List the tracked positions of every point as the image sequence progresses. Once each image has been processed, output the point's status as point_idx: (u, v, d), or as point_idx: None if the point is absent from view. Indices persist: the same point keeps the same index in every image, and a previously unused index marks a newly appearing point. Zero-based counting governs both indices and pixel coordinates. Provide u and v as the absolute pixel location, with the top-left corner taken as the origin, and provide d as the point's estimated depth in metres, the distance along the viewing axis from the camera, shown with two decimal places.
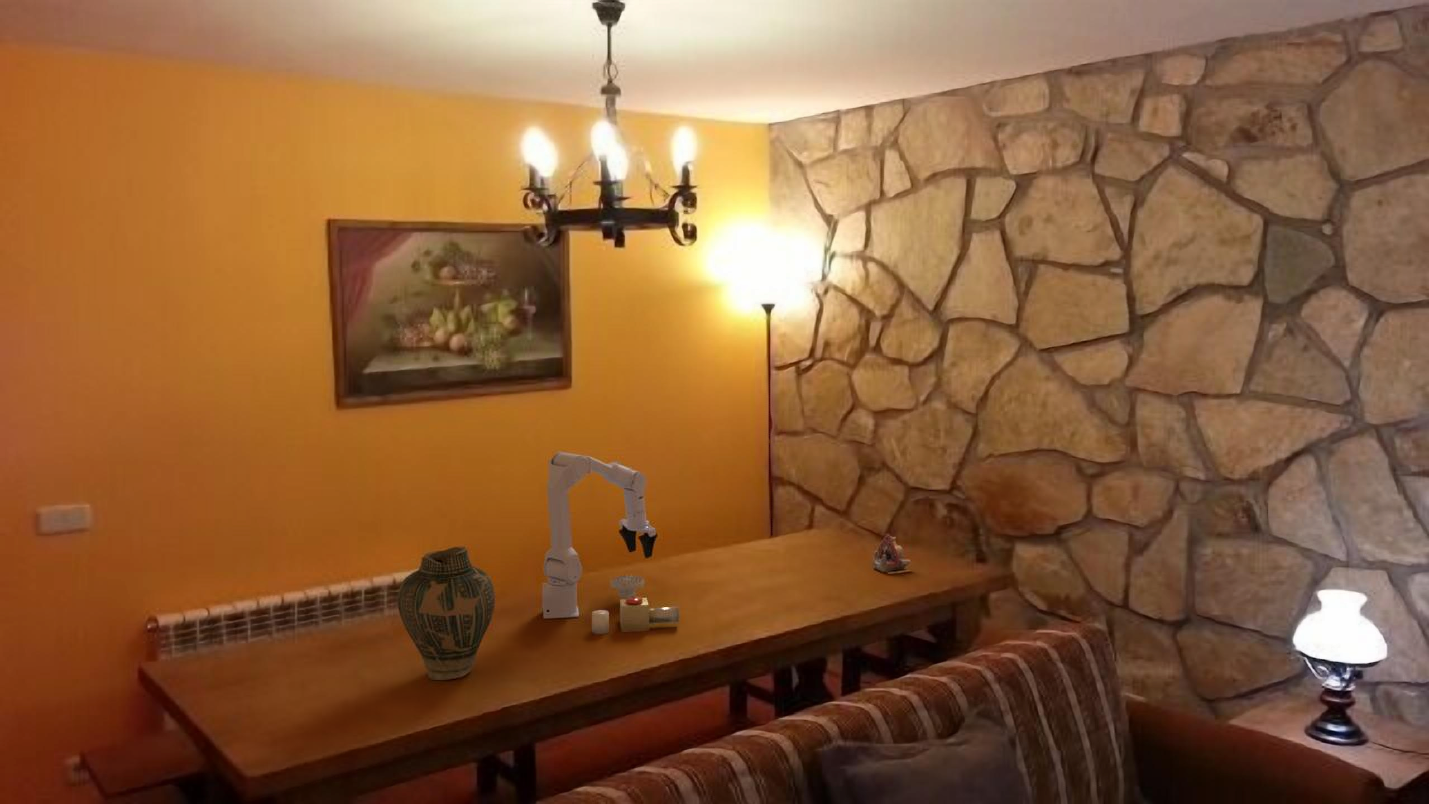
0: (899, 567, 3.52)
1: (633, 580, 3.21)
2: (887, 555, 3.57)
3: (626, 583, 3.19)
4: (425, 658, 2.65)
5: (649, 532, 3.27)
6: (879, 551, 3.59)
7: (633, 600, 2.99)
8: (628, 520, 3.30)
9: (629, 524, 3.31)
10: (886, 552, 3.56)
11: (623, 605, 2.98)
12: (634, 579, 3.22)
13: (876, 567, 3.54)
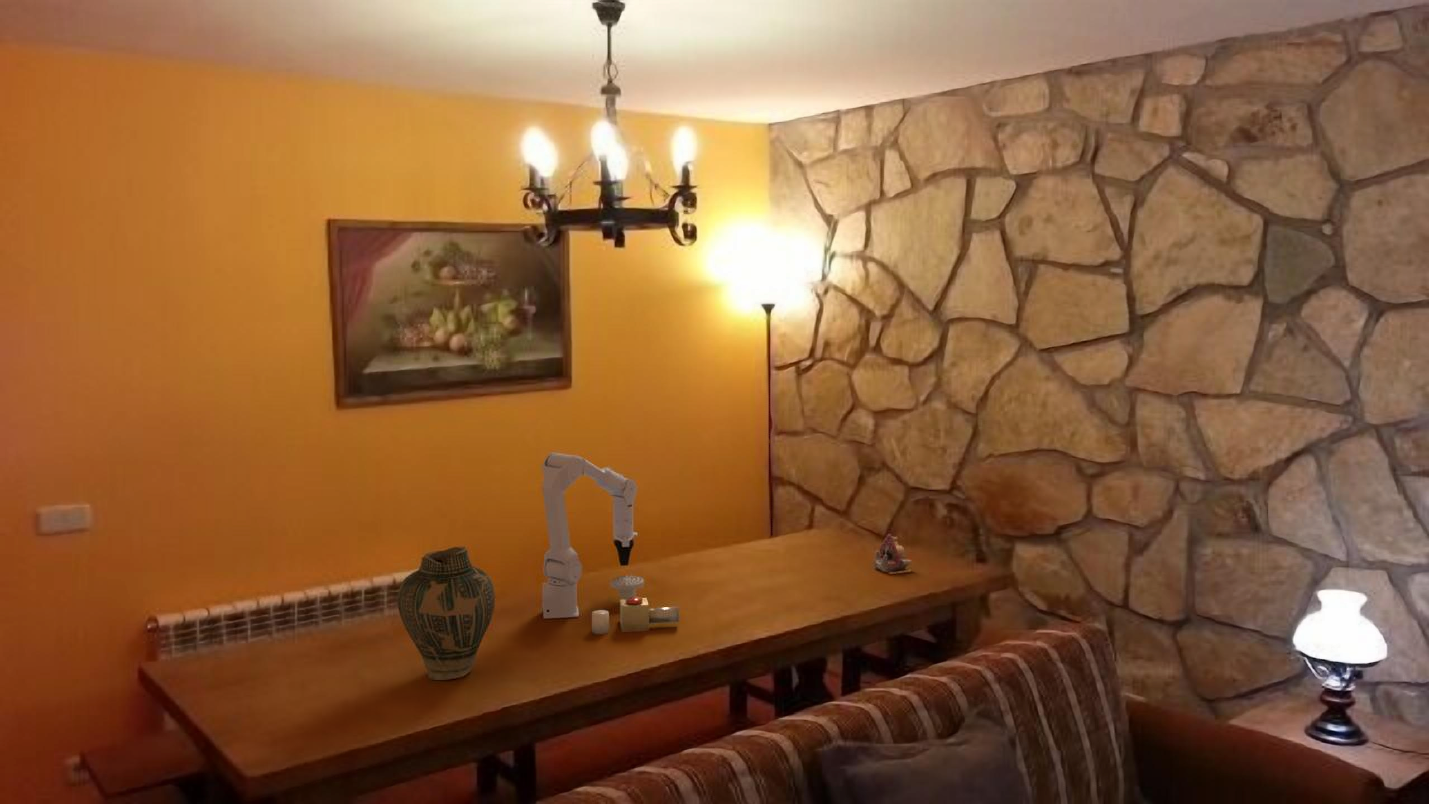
0: (900, 567, 3.52)
1: (633, 580, 3.21)
2: (888, 555, 3.57)
3: (626, 583, 3.19)
4: (425, 658, 2.65)
5: (622, 542, 3.23)
6: (881, 551, 3.59)
7: (633, 600, 2.99)
8: None
9: None
10: (887, 552, 3.56)
11: (623, 605, 2.98)
12: (634, 579, 3.22)
13: (877, 567, 3.54)
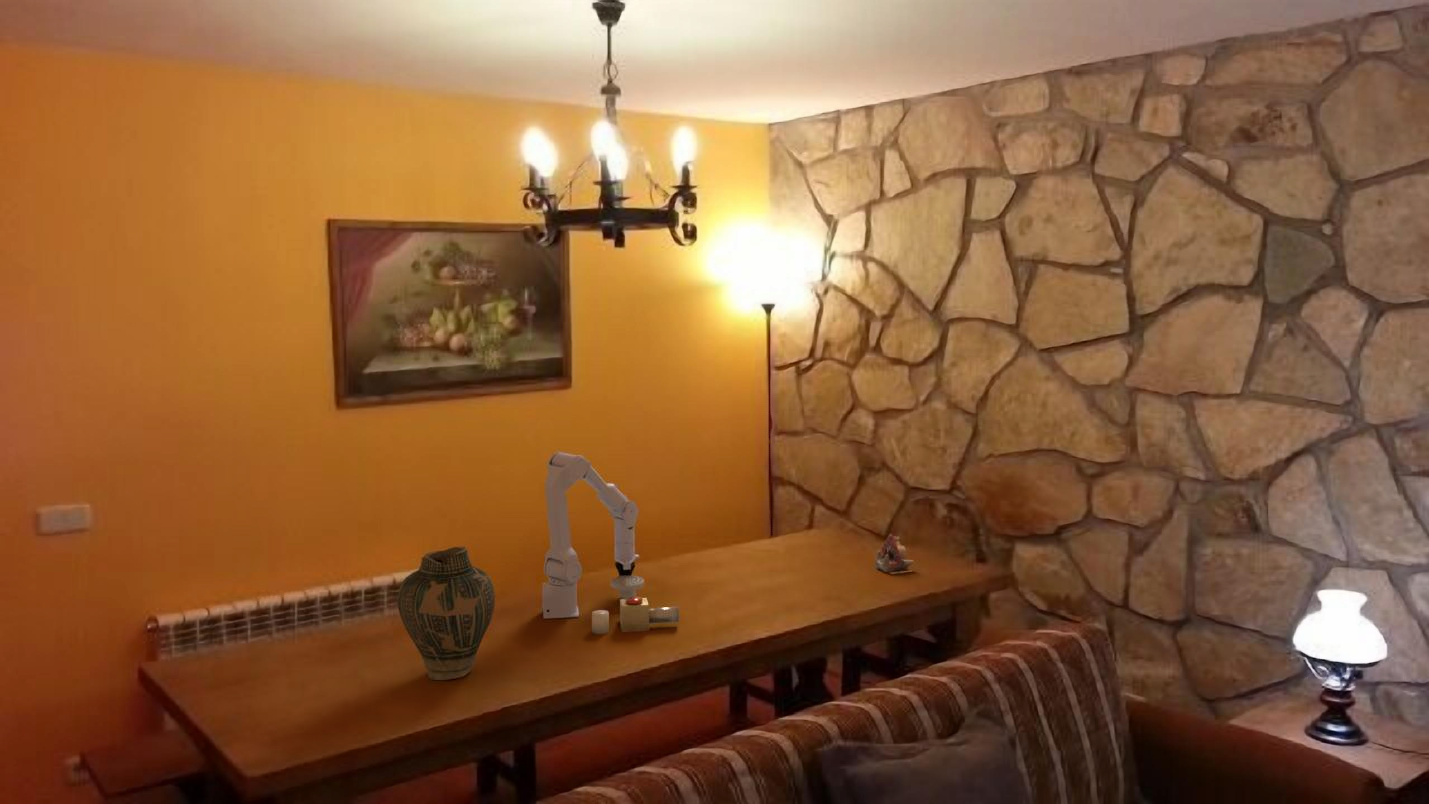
0: (902, 567, 3.52)
1: (633, 580, 3.21)
2: (890, 555, 3.56)
3: (626, 583, 3.19)
4: (425, 658, 2.65)
5: (623, 565, 3.21)
6: (882, 551, 3.59)
7: (633, 600, 2.99)
8: None
9: None
10: (889, 552, 3.56)
11: (623, 605, 2.98)
12: (634, 579, 3.22)
13: (879, 567, 3.54)
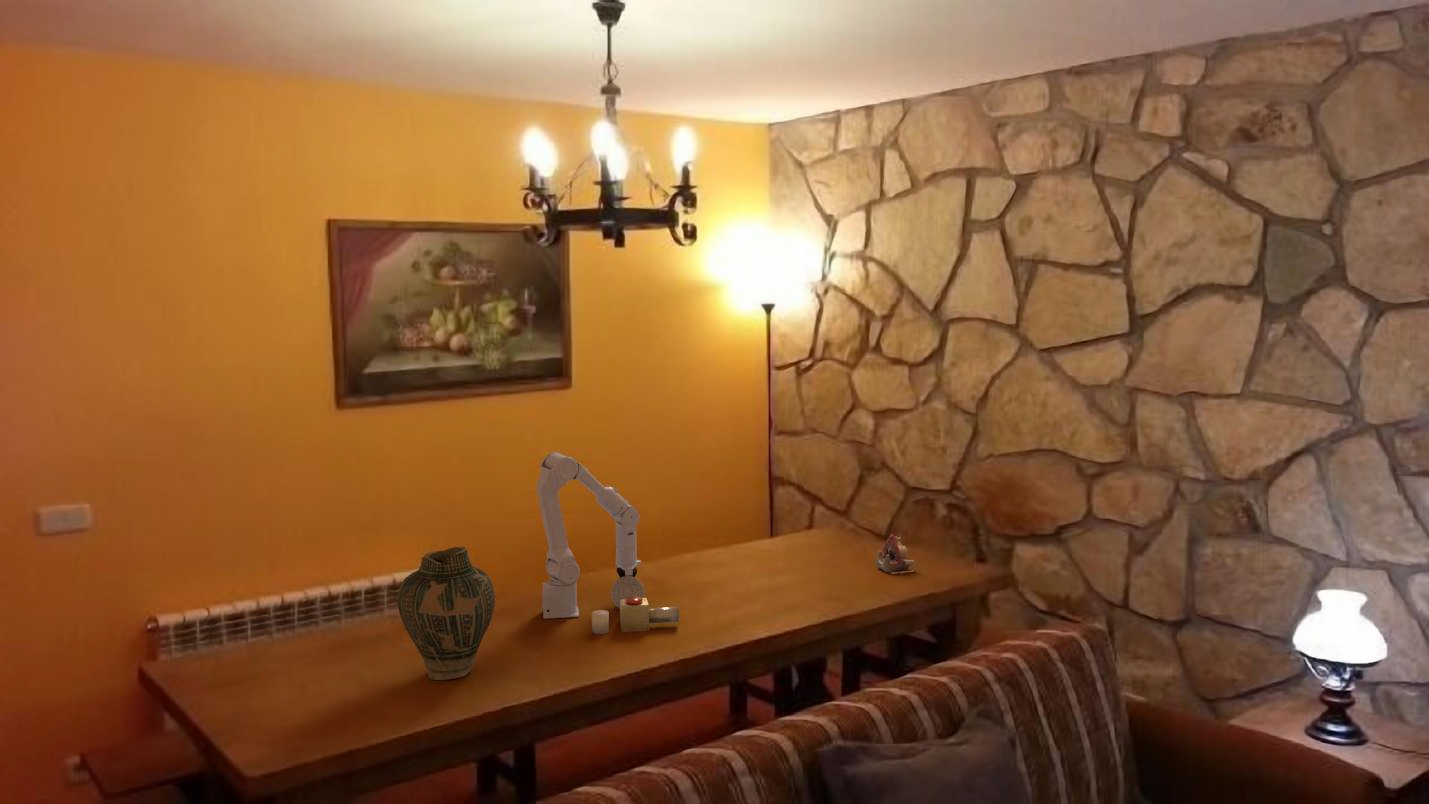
0: (903, 567, 3.52)
1: (634, 595, 3.16)
2: (891, 555, 3.56)
3: None
4: (425, 658, 2.65)
5: (625, 571, 3.15)
6: (884, 551, 3.59)
7: (633, 600, 2.99)
8: (616, 554, 3.21)
9: (616, 559, 3.21)
10: (890, 552, 3.56)
11: (623, 605, 2.98)
12: (635, 592, 3.17)
13: (880, 567, 3.54)
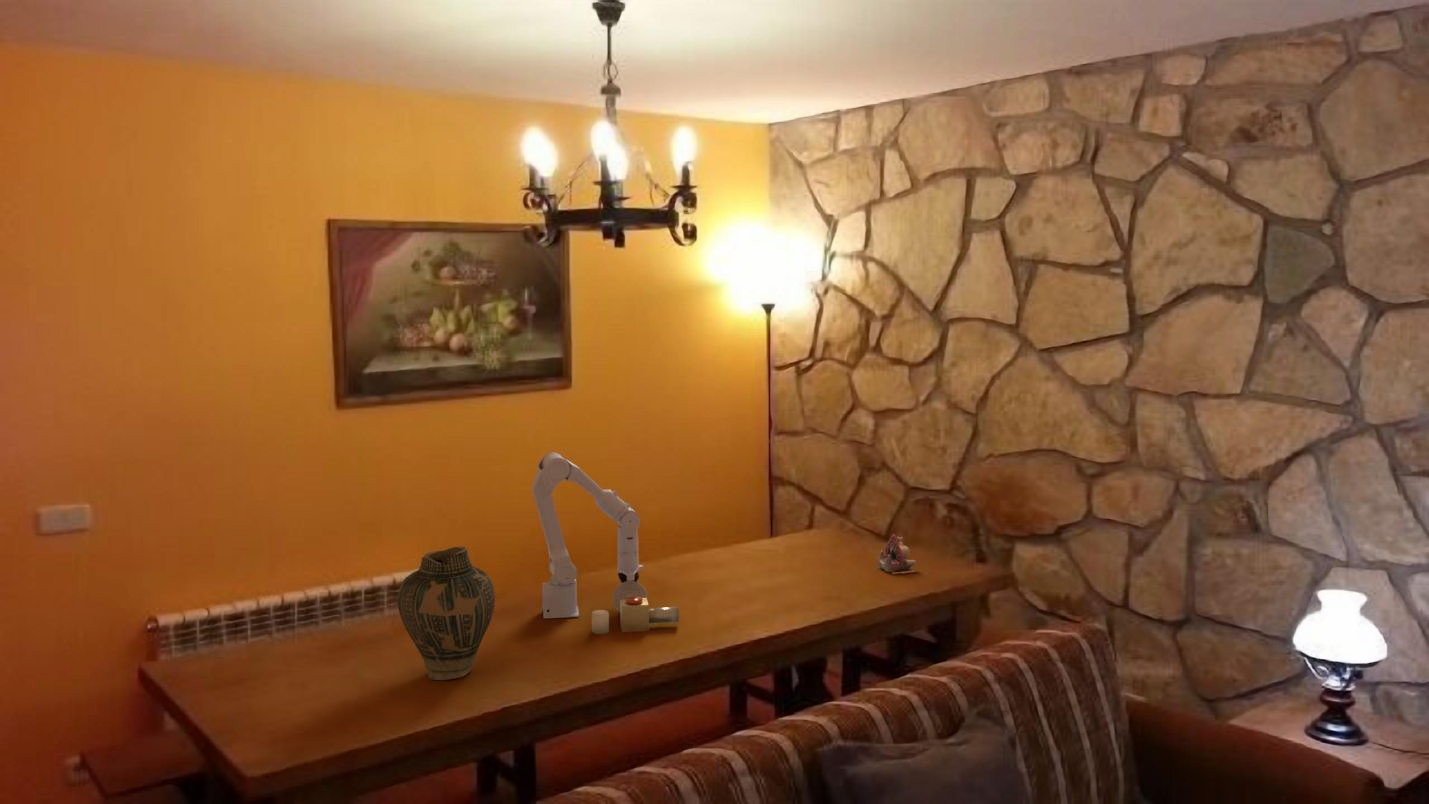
0: (904, 567, 3.52)
1: None
2: (893, 555, 3.56)
3: None
4: (425, 658, 2.65)
5: (627, 576, 3.10)
6: (886, 551, 3.59)
7: (633, 600, 2.99)
8: None
9: (618, 563, 3.16)
10: (892, 552, 3.56)
11: (623, 605, 2.98)
12: None
13: (881, 567, 3.54)
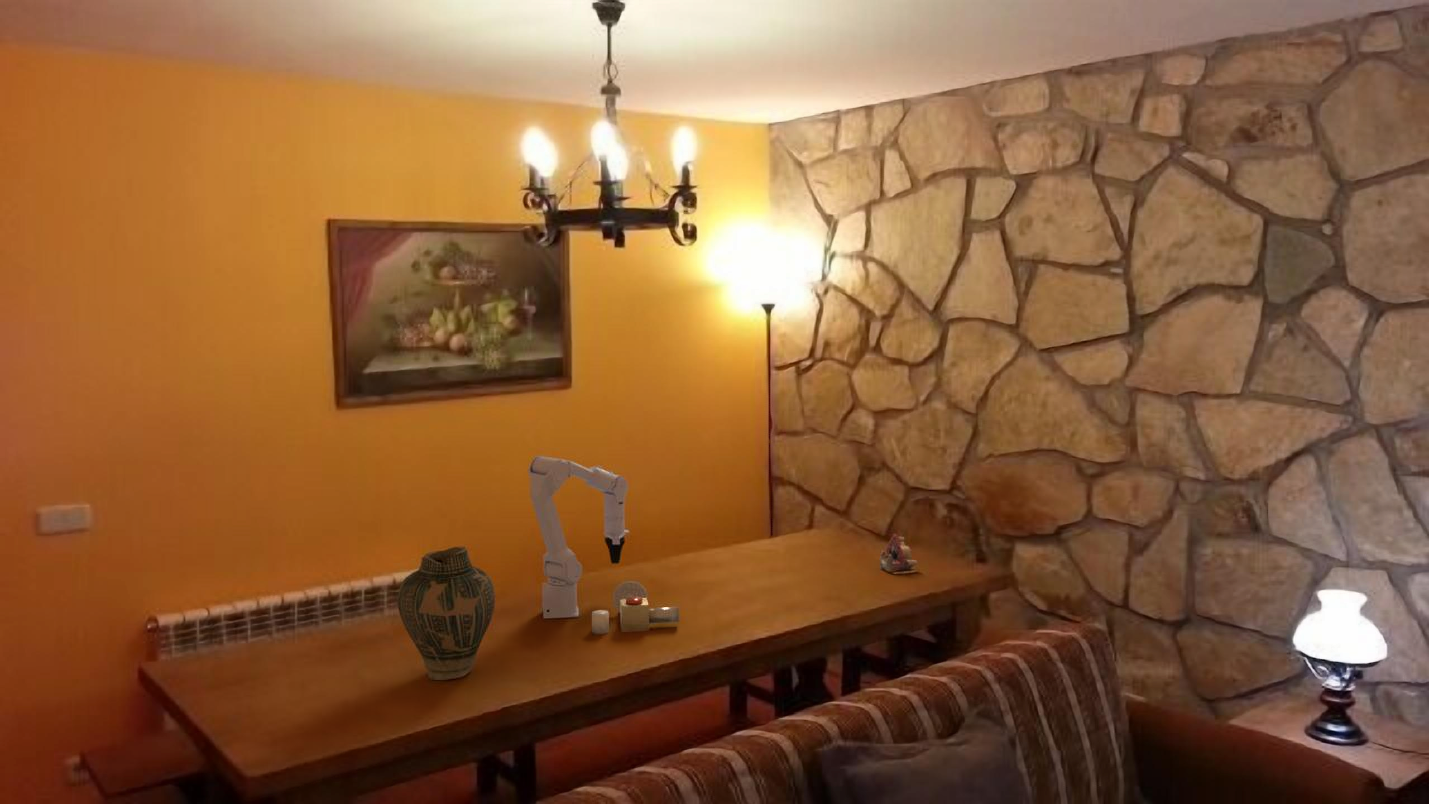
0: (905, 567, 3.52)
1: None
2: (894, 555, 3.56)
3: None
4: (425, 658, 2.65)
5: (612, 540, 3.19)
6: (887, 551, 3.59)
7: (633, 600, 2.99)
8: (604, 524, 3.25)
9: None
10: (893, 552, 3.56)
11: (623, 605, 2.98)
12: None
13: (882, 567, 3.54)
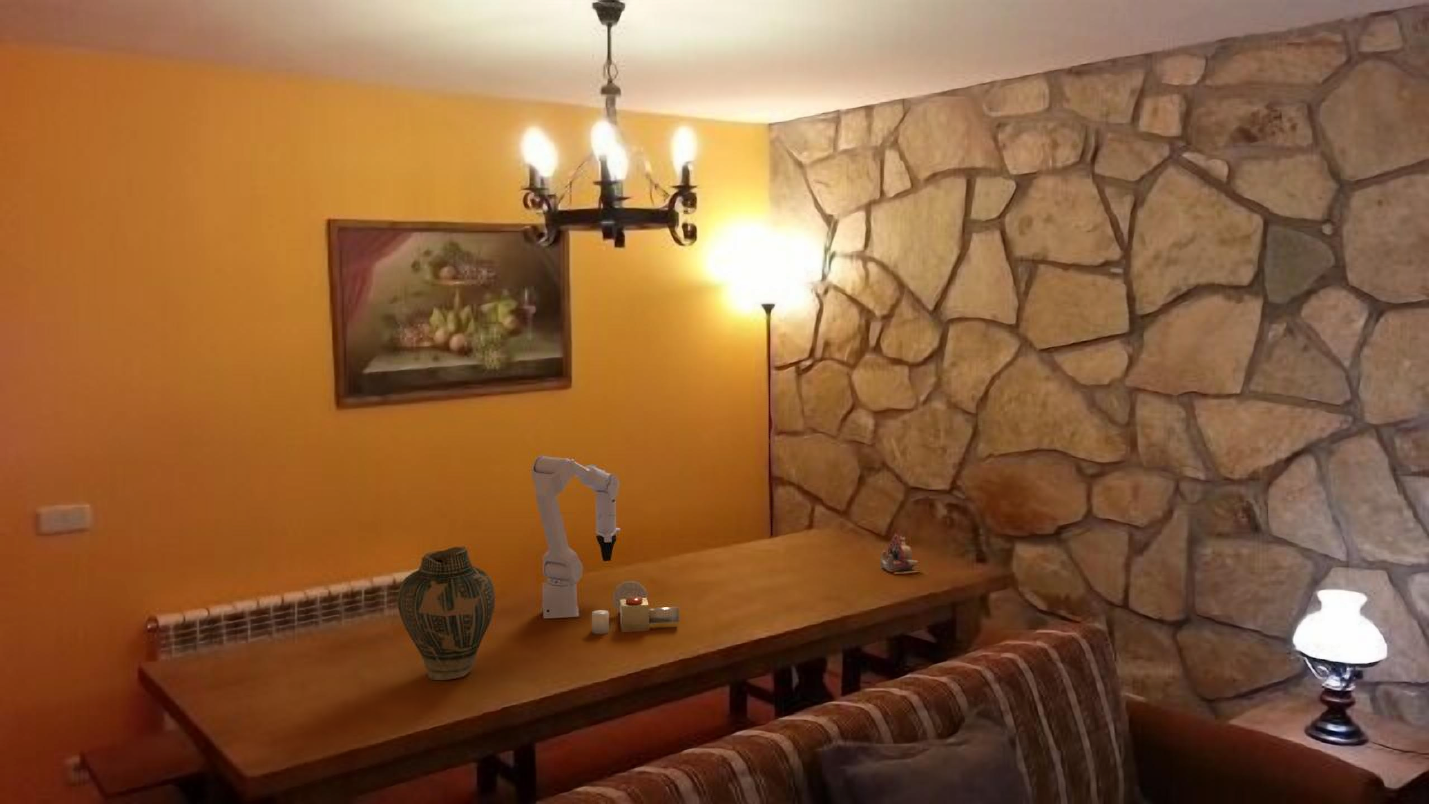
0: (906, 567, 3.52)
1: None
2: (895, 555, 3.56)
3: None
4: (425, 658, 2.65)
5: (604, 537, 3.22)
6: (888, 551, 3.59)
7: (633, 600, 2.99)
8: (596, 522, 3.28)
9: (596, 526, 3.28)
10: (894, 552, 3.56)
11: (623, 605, 2.98)
12: None
13: (883, 567, 3.54)
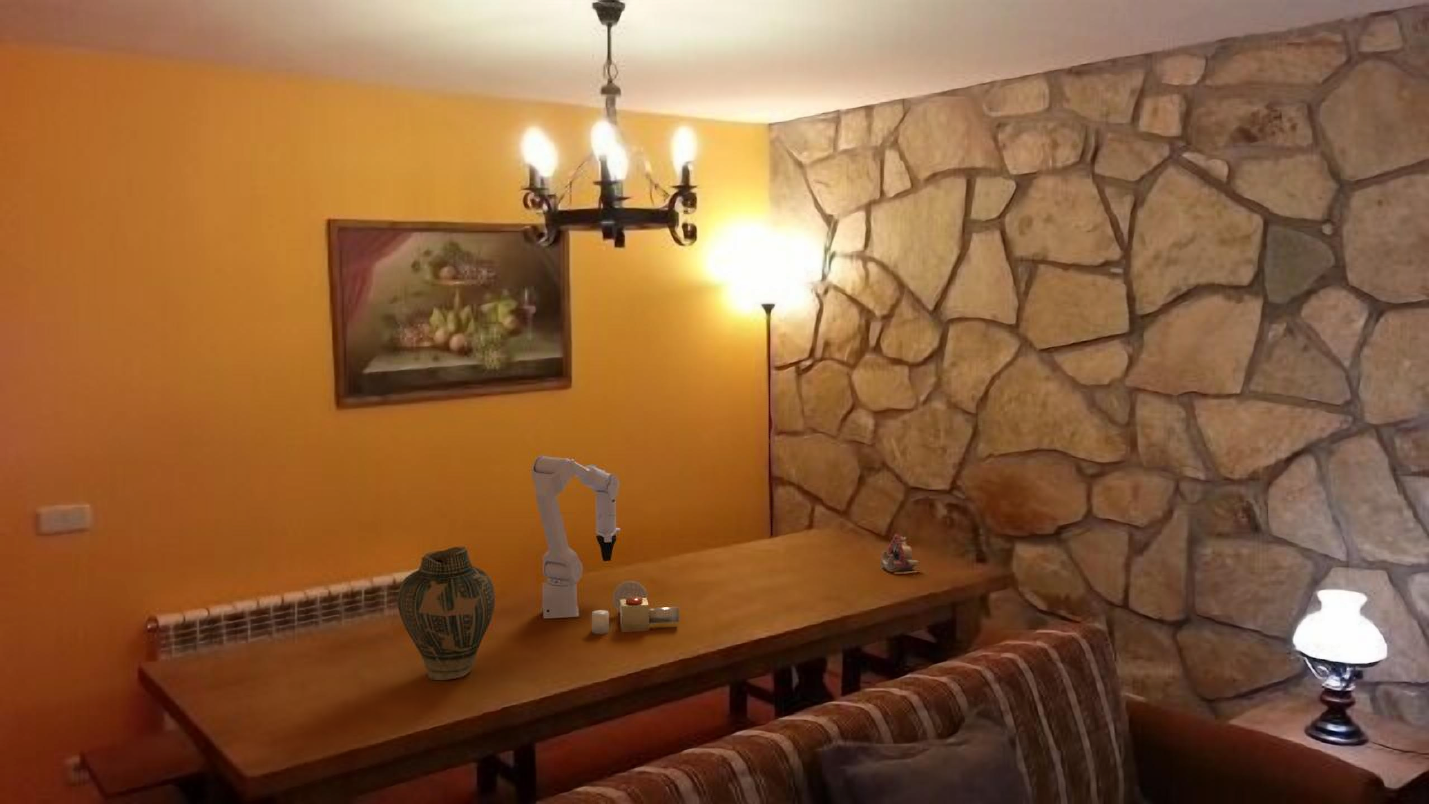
0: (906, 568, 3.52)
1: None
2: (896, 555, 3.56)
3: None
4: (425, 658, 2.65)
5: (604, 537, 3.22)
6: (889, 551, 3.59)
7: (633, 600, 2.99)
8: (596, 522, 3.28)
9: (596, 526, 3.28)
10: (895, 552, 3.56)
11: (623, 605, 2.98)
12: None
13: (884, 567, 3.54)
